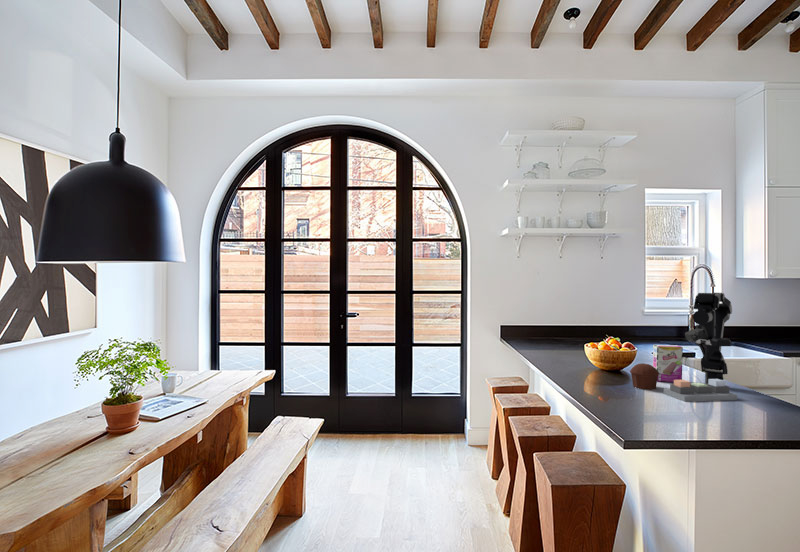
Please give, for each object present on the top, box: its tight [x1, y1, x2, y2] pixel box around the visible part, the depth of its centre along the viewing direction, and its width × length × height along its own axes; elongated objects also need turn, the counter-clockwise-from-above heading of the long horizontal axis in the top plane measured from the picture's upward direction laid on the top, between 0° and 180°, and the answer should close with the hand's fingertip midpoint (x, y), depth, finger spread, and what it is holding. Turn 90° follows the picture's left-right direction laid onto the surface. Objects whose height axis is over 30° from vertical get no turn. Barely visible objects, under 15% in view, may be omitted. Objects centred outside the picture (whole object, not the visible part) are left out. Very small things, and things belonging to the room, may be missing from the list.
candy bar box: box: [652, 344, 684, 383], centre depth 213 cm, size 11×5×16 cm, turn 84°
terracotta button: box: [673, 379, 691, 387], centre depth 184 cm, size 4×4×3 cm
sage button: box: [690, 382, 708, 387], centre depth 185 cm, size 4×4×3 cm
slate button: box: [708, 379, 726, 386], centre depth 186 cm, size 4×4×3 cm
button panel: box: [663, 382, 738, 402], centre depth 185 cm, size 12×22×4 cm, turn 96°
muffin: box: [629, 362, 659, 391], centre depth 201 cm, size 12×11×10 cm
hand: (706, 360), depth 193 cm, fingers closed
